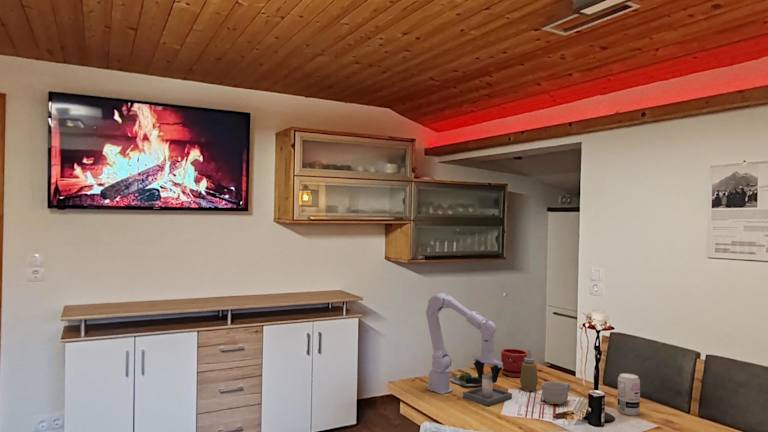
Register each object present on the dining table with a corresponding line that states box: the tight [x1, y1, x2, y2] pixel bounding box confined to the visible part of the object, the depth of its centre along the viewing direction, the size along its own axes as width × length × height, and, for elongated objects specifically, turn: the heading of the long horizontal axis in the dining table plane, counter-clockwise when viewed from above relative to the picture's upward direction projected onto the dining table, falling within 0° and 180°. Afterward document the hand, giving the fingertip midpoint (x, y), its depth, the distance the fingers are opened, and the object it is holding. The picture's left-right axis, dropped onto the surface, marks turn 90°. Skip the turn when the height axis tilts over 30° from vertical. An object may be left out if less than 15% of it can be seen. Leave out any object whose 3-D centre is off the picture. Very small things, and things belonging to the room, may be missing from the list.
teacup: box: [541, 381, 572, 406], centre depth 230 cm, size 14×11×8 cm
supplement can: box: [617, 373, 641, 417], centre depth 218 cm, size 8×8×15 cm
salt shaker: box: [482, 373, 494, 398], centre depth 234 cm, size 5×5×9 cm
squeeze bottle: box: [519, 349, 539, 392], centre depth 247 cm, size 8×8×18 cm
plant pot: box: [500, 348, 528, 378], centre depth 271 cm, size 13×13×12 cm
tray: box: [462, 387, 513, 407], centre depth 233 cm, size 14×16×2 cm
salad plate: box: [450, 371, 482, 389], centre depth 258 cm, size 19×18×5 cm
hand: (487, 380), depth 234 cm, fingers open, 7 cm apart
